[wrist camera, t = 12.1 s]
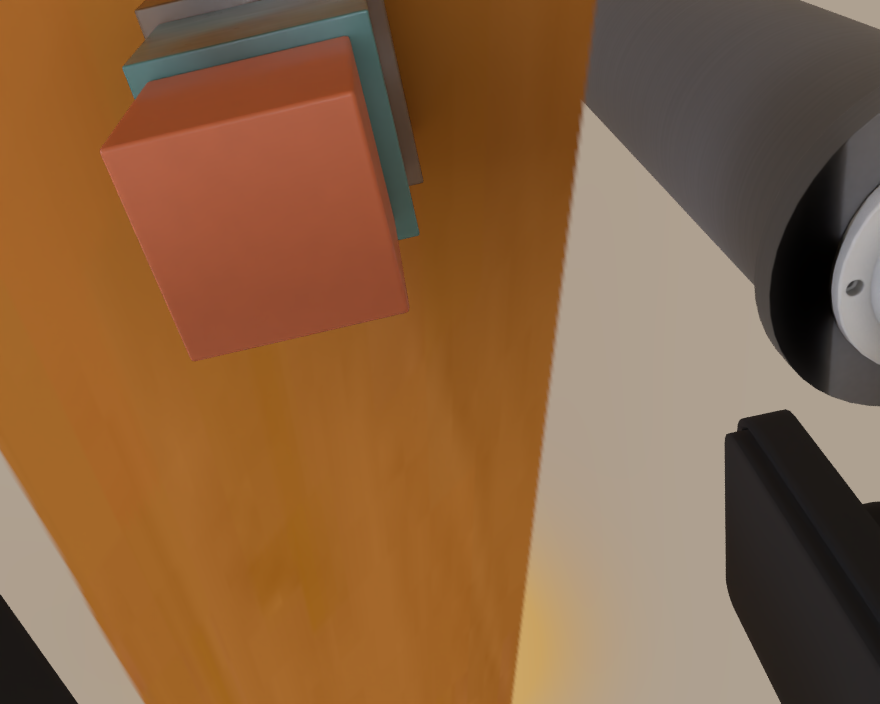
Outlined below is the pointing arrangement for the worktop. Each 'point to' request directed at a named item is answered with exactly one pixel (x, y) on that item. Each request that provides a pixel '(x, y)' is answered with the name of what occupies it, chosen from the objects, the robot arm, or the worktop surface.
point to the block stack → (279, 28)
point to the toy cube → (260, 199)
